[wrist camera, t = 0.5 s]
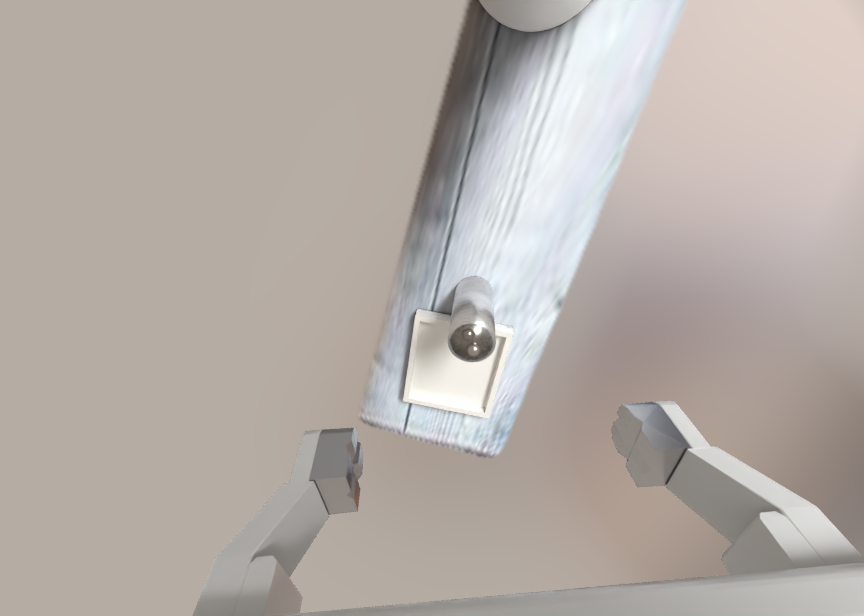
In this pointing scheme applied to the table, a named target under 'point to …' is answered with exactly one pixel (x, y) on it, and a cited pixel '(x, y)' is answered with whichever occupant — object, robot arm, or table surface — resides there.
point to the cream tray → (452, 369)
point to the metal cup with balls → (472, 321)
